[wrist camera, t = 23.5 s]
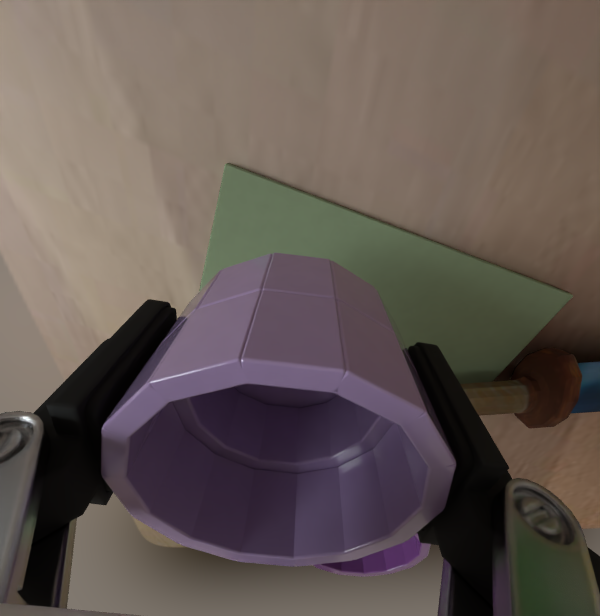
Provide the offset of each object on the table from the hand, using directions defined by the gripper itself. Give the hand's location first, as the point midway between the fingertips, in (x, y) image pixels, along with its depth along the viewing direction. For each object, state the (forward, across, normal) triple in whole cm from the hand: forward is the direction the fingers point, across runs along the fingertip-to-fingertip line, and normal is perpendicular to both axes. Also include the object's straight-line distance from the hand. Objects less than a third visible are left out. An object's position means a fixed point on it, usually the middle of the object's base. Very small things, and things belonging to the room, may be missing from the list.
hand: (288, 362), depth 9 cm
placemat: (+5, -3, +6) cm, 9 cm away
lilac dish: (+1, 0, 0) cm, 1 cm away
